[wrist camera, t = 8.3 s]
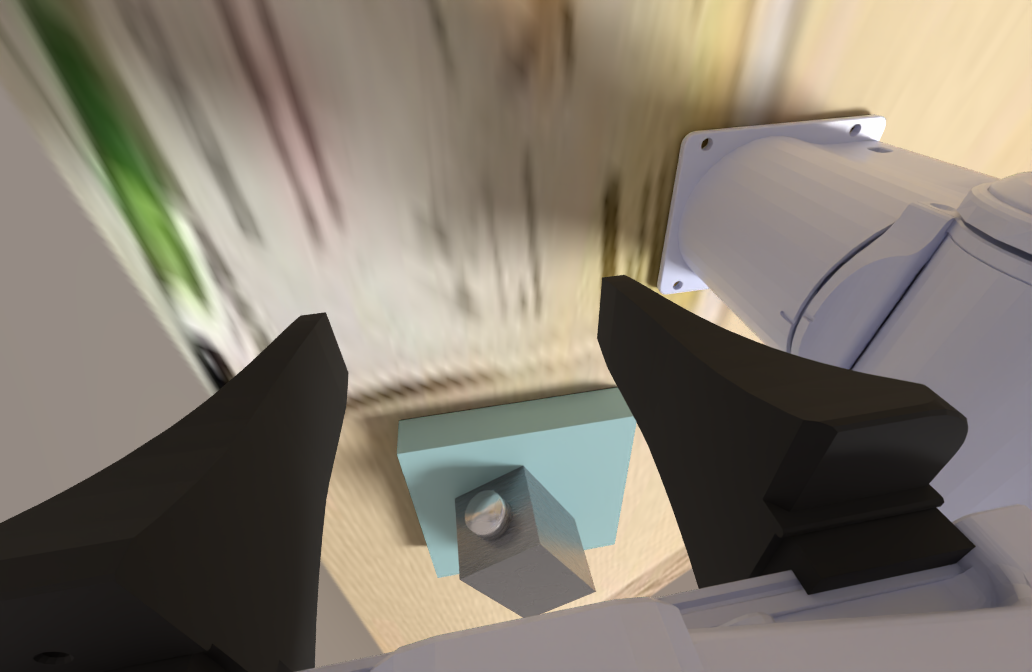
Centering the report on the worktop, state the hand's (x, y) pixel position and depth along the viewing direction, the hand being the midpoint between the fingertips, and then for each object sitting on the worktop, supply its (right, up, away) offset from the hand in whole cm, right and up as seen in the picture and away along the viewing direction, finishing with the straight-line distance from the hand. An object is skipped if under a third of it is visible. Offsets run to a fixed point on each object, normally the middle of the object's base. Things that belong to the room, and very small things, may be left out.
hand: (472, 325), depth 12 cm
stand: (+1, -10, +20) cm, 23 cm away
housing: (+1, -12, +18) cm, 22 cm away
